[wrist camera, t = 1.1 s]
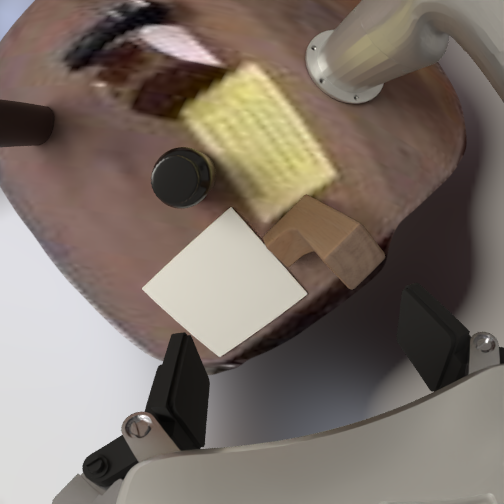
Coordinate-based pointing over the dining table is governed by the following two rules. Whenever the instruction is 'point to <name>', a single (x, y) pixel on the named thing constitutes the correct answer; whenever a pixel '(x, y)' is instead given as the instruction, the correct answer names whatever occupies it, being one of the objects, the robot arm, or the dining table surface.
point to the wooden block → (325, 240)
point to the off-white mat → (224, 285)
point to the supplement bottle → (183, 177)
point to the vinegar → (24, 124)
